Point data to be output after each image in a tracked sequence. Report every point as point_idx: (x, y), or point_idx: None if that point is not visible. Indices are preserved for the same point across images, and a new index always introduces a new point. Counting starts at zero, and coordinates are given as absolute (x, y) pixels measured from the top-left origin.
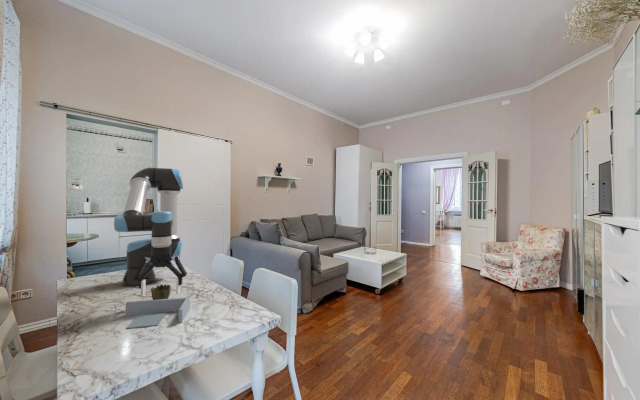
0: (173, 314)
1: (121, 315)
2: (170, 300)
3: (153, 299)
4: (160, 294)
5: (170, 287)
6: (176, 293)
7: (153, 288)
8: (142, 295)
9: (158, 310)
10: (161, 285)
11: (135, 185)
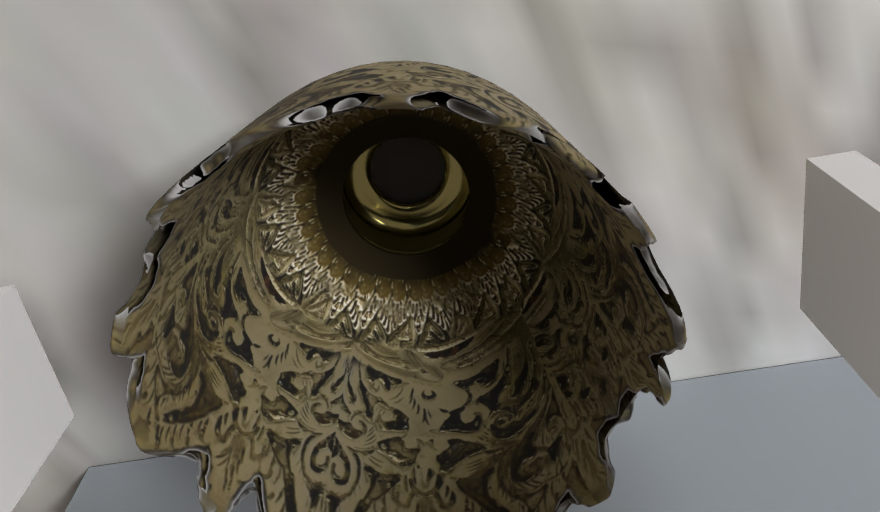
0: None
1: (35, 489)
2: None
3: (319, 358)
4: (487, 462)
5: (663, 292)
6: (807, 306)
7: (148, 325)
8: (54, 430)
9: None
10: (269, 131)
11: None
